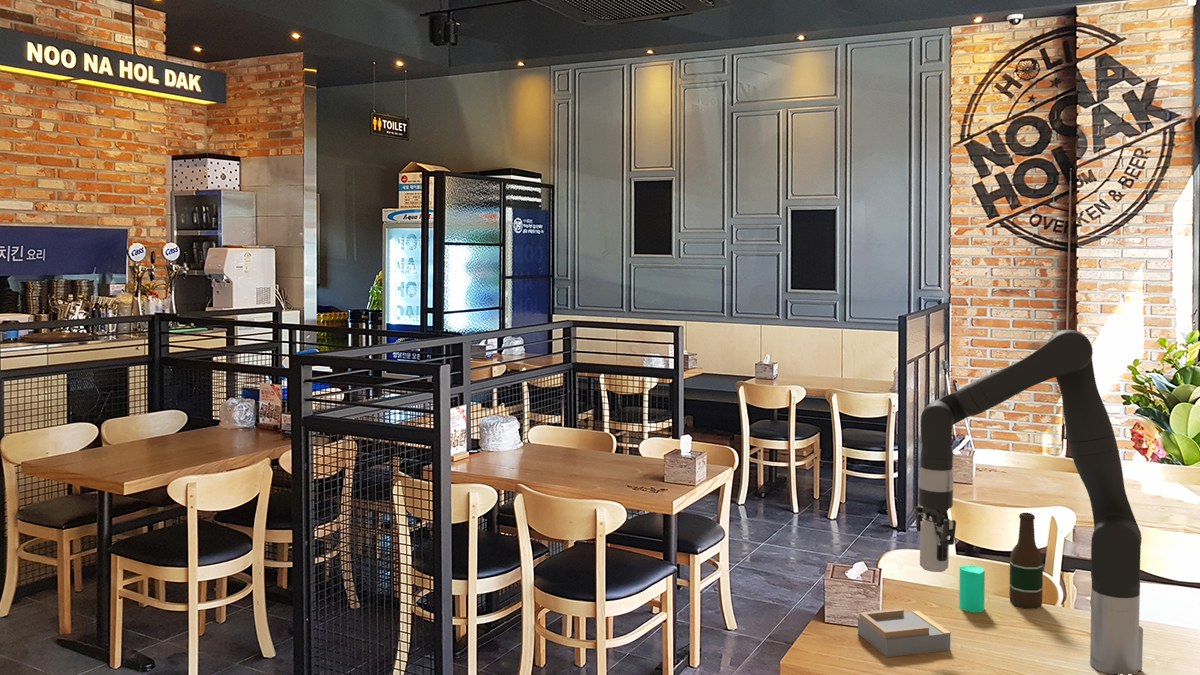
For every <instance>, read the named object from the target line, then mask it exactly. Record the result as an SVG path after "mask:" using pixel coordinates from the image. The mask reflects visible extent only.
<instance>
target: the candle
mask: <svg viewBox="0 0 1200 675" xmlns="http://www.w3.org/2000/svg"><path fill="white" fill-rule="evenodd" d="M985 575H986V574H985V569H984V568H983V567H982V566H978V565H961V566H959V594H958V595H959V596H958V599H959V600H958V601H959V604H958V605H959V609H961V610H962V609H963V610H962V611H964V610H965V612H968V611H970V612H969V613H981V611H982V612H984V610H985V584H986V583H985V581H986V579H985Z"/></svg>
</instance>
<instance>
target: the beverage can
mask: <svg viewBox="0 0 1200 675" xmlns="http://www.w3.org/2000/svg"><path fill="white" fill-rule="evenodd" d="M922 520H923V521H921V522H920V524H921V529H920V531H919V534H920V536H919V537H920V538H919V539H920V540H919V542H920V543H919V566H920V567H921V568H922V569H923V570H924V571H926V572H932V573H942V572H943V573H944V572H945V571H946V570H947V569H948V568H949V559H950V558H949V553H950V551H949V548H950V545H948V547H947V560H946V561H938V560H937V545H938V544H937V536H936V535H934V526H933V523H932V522H930V520H929V519H924V518H922ZM935 524H937V523H935ZM936 526H937V525H936ZM937 530H938V531H939V532H941V531H943V527H938V526H937ZM940 537H941V540H942V535H940ZM948 538H949V539H950V536H948Z"/></svg>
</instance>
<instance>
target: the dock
mask: <svg viewBox="0 0 1200 675" xmlns="http://www.w3.org/2000/svg"><path fill="white" fill-rule="evenodd" d="M857 634H858V635H859V636H860V637H861V638H863V640H865V641H866V642H868V644H870V645H871V646H872V647H873V648H875V649H876V650H878V651H879V652H880V653H881V654H882V655H883V656H885V657H886V658H891V657H901V656H909V655H918V654H927V653H928V654H929V653H935V652H944V651H951V631H949V630H948V629H946V628H945V627H943V626H941V625H940V624H939V623H938V622H936V621H934V620H932V619H931V618H930V617H928V616H927V615H926V614H924V613H922V612H921V611H920V610H912V611H908V612H905V611H904V609H903V608H894V609H884V610H875V611H864V612H859V617H857Z"/></svg>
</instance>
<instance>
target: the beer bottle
mask: <svg viewBox="0 0 1200 675" xmlns="http://www.w3.org/2000/svg"><path fill="white" fill-rule="evenodd" d="M1018 517H1019V528H1018V530H1019V531H1018V538H1017V543H1016V544H1015V546H1014V547H1013V548H1012V549H1011V550H1012V551H1011V553H1010V557H1009V601H1010V603H1011V604H1012V605H1013V606H1014V607H1017V608H1021V609H1026V610H1036V609H1039V608H1040V607H1041V606H1042V605H1043V583H1044V582H1043V581H1044V580H1043V579H1044V578H1043V573H1044V572H1043V571H1044V563H1043V556H1042V553H1041V551H1040V549H1039V548H1038V547H1037V545H1036V539H1035V536H1036V535H1035V519H1036V517H1035V515H1034V514H1033V513H1031V512H1021V513H1019V515H1018Z"/></svg>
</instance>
